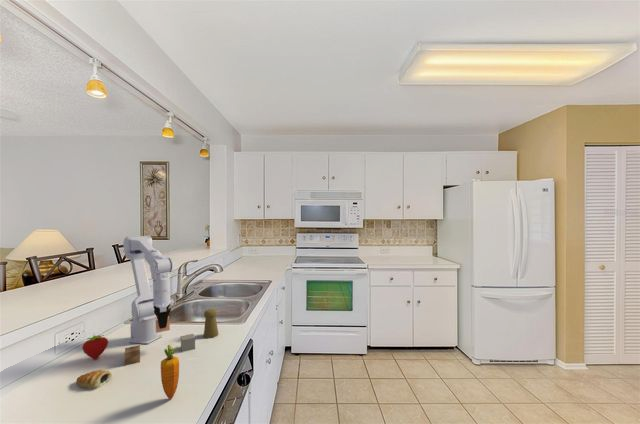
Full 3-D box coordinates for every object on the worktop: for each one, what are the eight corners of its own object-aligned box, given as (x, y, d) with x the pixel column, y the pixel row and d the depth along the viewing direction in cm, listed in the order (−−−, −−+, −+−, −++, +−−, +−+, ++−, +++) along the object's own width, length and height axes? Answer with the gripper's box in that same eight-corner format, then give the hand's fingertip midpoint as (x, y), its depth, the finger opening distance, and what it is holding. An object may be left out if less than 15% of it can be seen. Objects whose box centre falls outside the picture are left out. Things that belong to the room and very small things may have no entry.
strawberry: (108, 359, 107) (108, 331, 107) (81, 366, 102) (81, 337, 102) (108, 353, 112) (108, 326, 112) (83, 359, 107) (82, 331, 107)
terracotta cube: (156, 332, 110) (155, 320, 110) (155, 328, 114) (155, 317, 114) (169, 330, 112) (169, 318, 112) (168, 326, 116) (168, 314, 116)
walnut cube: (124, 366, 102) (124, 353, 102) (125, 360, 106) (125, 348, 106) (139, 362, 104) (139, 349, 104) (140, 357, 108) (139, 345, 108)
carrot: (165, 394, 85) (164, 342, 85) (183, 392, 86) (182, 341, 86) (157, 405, 80) (156, 350, 80) (176, 404, 81) (175, 348, 81)
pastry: (69, 388, 89) (68, 376, 89) (89, 376, 96) (89, 364, 96) (96, 390, 88) (96, 378, 88) (115, 378, 95) (115, 366, 95)
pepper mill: (220, 332, 129) (220, 307, 129) (214, 338, 123) (214, 311, 123) (207, 332, 130) (207, 307, 130) (200, 338, 124) (200, 311, 124)
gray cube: (182, 352, 111) (182, 340, 111) (180, 347, 115) (180, 336, 115) (195, 349, 114) (194, 337, 114) (193, 344, 118) (193, 333, 118)
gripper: (175, 292, 109) (175, 329, 109) (171, 284, 121) (172, 318, 121) (153, 295, 105) (154, 333, 105) (152, 287, 118) (152, 321, 118)
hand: (162, 325), depth 113 cm, fingers closed on terracotta cube, 4 cm apart
